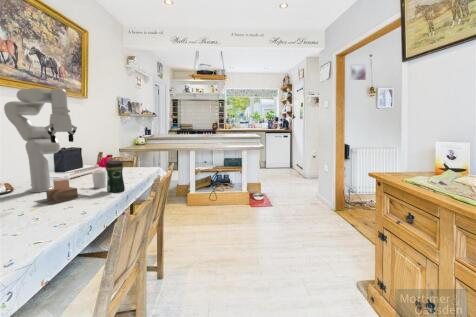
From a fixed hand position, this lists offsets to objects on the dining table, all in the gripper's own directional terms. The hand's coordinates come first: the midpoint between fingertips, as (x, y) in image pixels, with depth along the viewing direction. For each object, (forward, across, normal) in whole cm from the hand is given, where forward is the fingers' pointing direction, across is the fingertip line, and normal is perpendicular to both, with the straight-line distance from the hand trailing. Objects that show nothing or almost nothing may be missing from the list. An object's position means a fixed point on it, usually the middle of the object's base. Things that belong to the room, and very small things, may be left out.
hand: (62, 142), depth 156 cm
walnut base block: (+29, +10, +13) cm, 33 cm away
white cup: (+31, -22, -1) cm, 38 cm away
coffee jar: (+31, -18, +19) cm, 40 cm away
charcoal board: (+30, +10, +13) cm, 34 cm away
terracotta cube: (+24, +10, +13) cm, 29 cm away
